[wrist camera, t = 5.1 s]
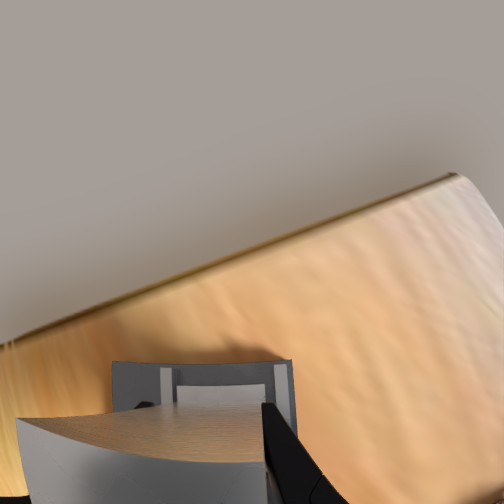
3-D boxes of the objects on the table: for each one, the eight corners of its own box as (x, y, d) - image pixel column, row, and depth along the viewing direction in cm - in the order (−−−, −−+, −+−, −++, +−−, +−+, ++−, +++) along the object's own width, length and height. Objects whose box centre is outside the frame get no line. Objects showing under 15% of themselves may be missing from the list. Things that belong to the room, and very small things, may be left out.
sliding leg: (269, 462, 11) (289, 623, 1) (134, 456, 11) (-33, 508, 1) (264, 383, 13) (278, 401, 3) (129, 382, 13) (-59, 343, 3)
